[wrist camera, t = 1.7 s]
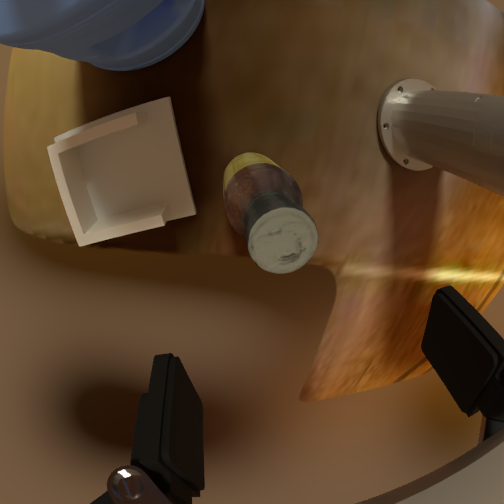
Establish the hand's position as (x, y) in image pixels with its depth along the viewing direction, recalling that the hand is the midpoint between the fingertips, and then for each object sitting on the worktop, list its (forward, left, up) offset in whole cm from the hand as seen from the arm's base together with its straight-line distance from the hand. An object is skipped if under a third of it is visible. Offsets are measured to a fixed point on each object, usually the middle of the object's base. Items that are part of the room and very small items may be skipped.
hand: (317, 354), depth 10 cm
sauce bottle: (0, 0, -28) cm, 28 cm away
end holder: (+14, -4, -28) cm, 31 cm away
